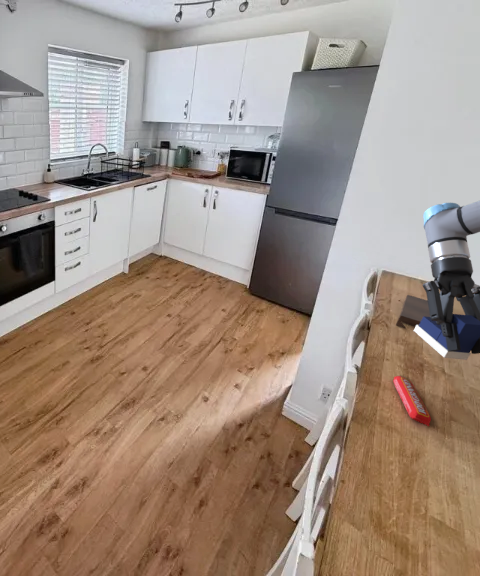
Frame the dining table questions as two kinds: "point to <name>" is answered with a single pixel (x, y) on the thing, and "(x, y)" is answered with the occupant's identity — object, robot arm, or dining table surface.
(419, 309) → the shoe shelf
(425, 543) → the dining table surface
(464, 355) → the two-tone navy white block
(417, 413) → the candy bar
